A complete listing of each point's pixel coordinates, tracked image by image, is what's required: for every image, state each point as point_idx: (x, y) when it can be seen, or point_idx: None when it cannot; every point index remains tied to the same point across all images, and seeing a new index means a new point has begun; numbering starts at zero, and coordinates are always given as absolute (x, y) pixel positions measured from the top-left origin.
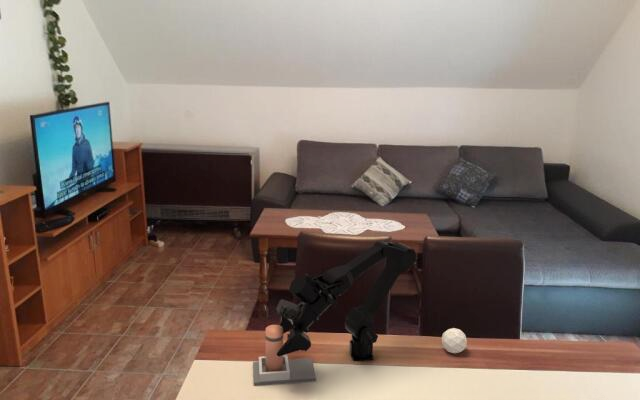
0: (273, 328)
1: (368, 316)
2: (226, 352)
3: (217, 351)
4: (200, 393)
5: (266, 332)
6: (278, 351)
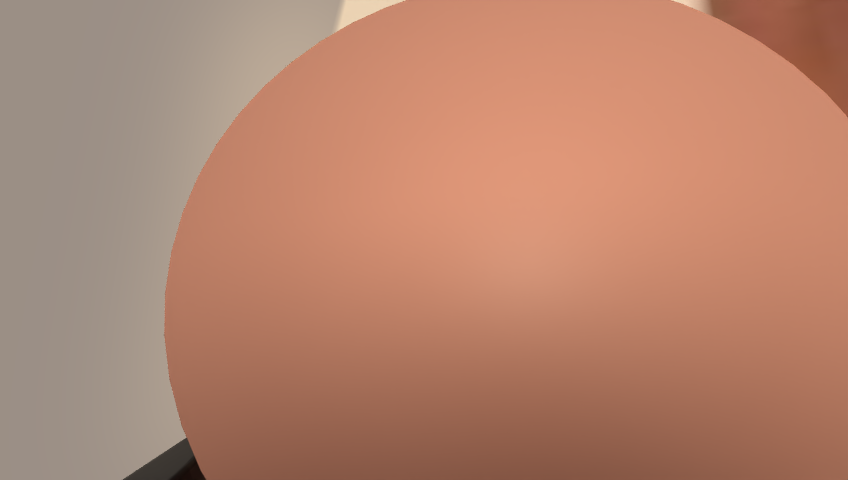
0: (567, 200)
1: None
2: (819, 63)
3: (820, 10)
4: (351, 4)
5: (381, 39)
6: (183, 451)
